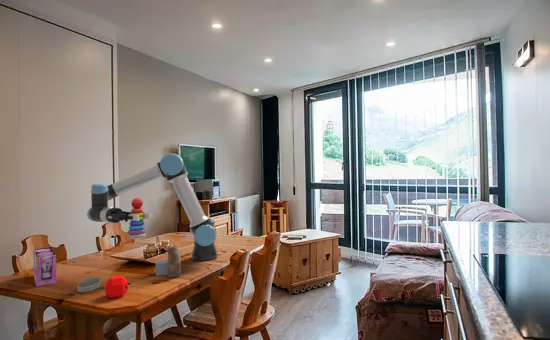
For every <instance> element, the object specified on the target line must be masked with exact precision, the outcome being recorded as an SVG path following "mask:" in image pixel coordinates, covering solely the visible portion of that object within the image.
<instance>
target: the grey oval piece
mask: <svg viewBox="0 0 550 340" xmlns="http://www.w3.org/2000/svg"><path fill="white" fill-rule="evenodd" d="M101 282H102V281H101V279H100V278H98V277H95V278H94V277H91V276H89V277H86V278H84V279H83V280H82V281H80V282H78V284H77V285H76V286H77V288H76V289H77V292H78V293H86V292H92V291H95V290H97V289H98V288H100V287H101V285H102V284H101Z"/></svg>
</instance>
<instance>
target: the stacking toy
mask: <svg viewBox="0 0 550 340" xmlns="http://www.w3.org/2000/svg"><path fill="white" fill-rule="evenodd" d="M143 203H144V202H143V200H142V199H141V198H139V197H137V198H135V197H134V198H133V199H132V200H131V210H130V212H132V213H131V214H132V215H139V221H131V220H130V222H129V226H128V229H129V230H127V231H128V232H127V233H128V234H127V238H128V239H131V240H137V239H143V238H145V237H147V234H146V229H145V228H146V226H145V221H144V220H145V219H144V217H142V216H143V213H141V212H142V211H143V210H144V209H143V208H142V207H143V205H144V204H143ZM143 212H144V211H143Z"/></svg>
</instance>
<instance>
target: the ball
mask: <svg viewBox="0 0 550 340" xmlns="http://www.w3.org/2000/svg"><path fill="white" fill-rule="evenodd" d="M128 283H129V282H128V280H127V278H125V277H124V276H123V275H122V274H121V275H120V274H119V275H116V276H115V275H114V276H110V278H109V279H107V280H106V282H105V284H104V285H105V286H104V287H105V288H104V289H105V291H104V292H105V295H106V296H108V297H109V298H110V299H116V298H122V297H123V296H124V295H125V294H126V293H127V292H128V291H129V290H128V288H129V287H128V285H129V284H128Z"/></svg>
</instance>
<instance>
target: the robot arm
mask: <svg viewBox="0 0 550 340" xmlns="http://www.w3.org/2000/svg"><path fill="white" fill-rule="evenodd" d="M188 174H189V171H188V170H187V167H186V165H185V163H184V160H183V158H182V157H181V156H180V155H179V154H178V153H174V152H173V153H172V152H171V153H167V154H165V155H164V156H163V157H162V158H161V160H160V161H158V162H157V163H156V164H155V165H154V166H151V167H149V168H147V169H145V170H142V171H139V172H137V173H135V174H132V175H129V176H128V177H125V178H123V179H121V180H118V181H116V182H114V183H111V184H109V185H108V184H106V183H96V184H95V183H94V184H92V185H91V190H90V193H91V206H90V208H89V209H88V211H87V212H86V216H87V218H88V220H89V221H92V222H96V223H97V222H99V223H107V224H110V223H112V224H117V223H120V222H123V221H124V222H125V223H126V222H128V221H130V222H131V221H139V215H132V214H131V213H132V212H131V211H125V210H124V211H123V210H122V209H121V208H119V207H112V206H111V207H109V201H111V200H113V199H115V198H116V197H119V196H121V195H124V194H125V193H128V192H131V191H133V190H135V189H139V188H140V187H142V186H145V185H148V184H150V183H151V182H154V181H157V180H159V179H161V178H163V179H165V178H166V180H167V182H168V183H171V184H172V186H173V189H174V191H175V192H176V195H177V198H179V201H180V203H181V205H182V207H183V209H184V212H185V214H186V217H188V221H189V222H190V224H189V229H190V231H191V232H192V235H193V243H194V244H193V249H192V252H191V256H190V257H191V258H190V259H191V261H197V262H201V261H204V262H205V261H211V260H215V259H217V258H218V251H217V248H216V246H215V240H216V237H217V231H216V229H215V222H214V221H215V220H214V219H213V218H210V217H209V216H207V215H206V214H205V212H204V210H203V208H202V206H201V204H200V201H199V199H198V197H197V195H196V193H195V190H194V189H193V187H192V184H191V183H190V181H189V178H188ZM141 213H143V216H142V217H144V220H151V218H152V214H151V212H145V211H142V212H141ZM128 223H129V222H128Z"/></svg>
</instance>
